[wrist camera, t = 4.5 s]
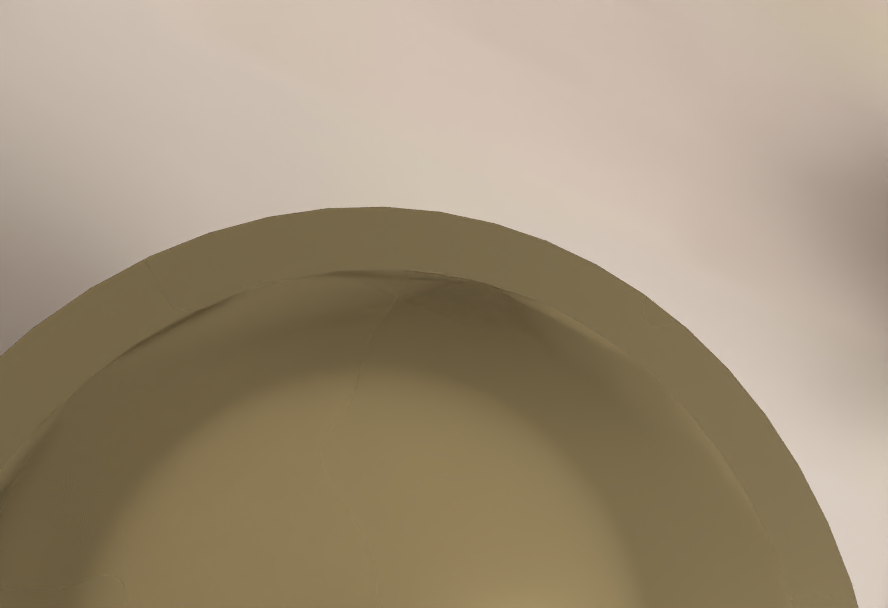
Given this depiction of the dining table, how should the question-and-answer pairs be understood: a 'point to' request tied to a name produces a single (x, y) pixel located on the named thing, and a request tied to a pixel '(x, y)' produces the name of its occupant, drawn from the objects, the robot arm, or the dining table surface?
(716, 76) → the dining table surface
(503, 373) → the brass pedestal cup
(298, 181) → the dining table surface
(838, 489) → the dining table surface
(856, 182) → the dining table surface
